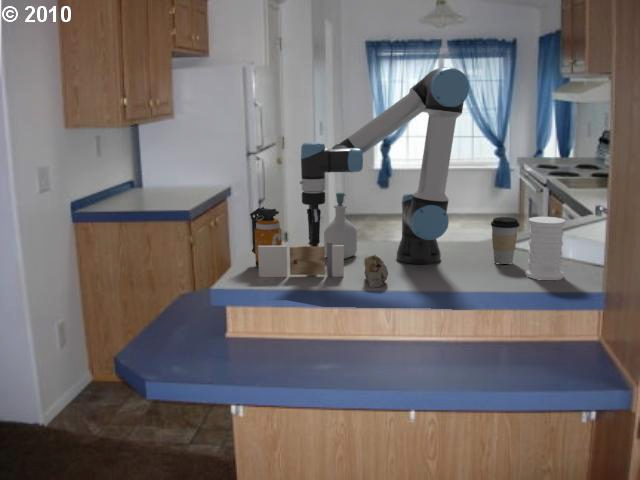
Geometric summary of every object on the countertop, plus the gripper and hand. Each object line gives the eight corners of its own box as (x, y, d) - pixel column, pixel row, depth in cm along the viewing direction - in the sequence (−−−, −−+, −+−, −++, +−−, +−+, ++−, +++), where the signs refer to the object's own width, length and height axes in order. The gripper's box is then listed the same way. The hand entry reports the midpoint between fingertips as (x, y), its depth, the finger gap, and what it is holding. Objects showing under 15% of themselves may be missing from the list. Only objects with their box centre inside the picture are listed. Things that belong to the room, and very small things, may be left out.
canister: (272, 270, 242) (270, 211, 238) (245, 266, 248) (243, 208, 244) (287, 265, 249) (286, 206, 245) (261, 261, 255) (259, 204, 251)
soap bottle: (359, 255, 262) (358, 191, 257) (345, 260, 254) (345, 195, 249) (336, 252, 267) (335, 190, 262) (321, 257, 259) (321, 193, 254)
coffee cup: (487, 265, 246) (488, 221, 242) (491, 258, 254) (493, 216, 251) (515, 267, 242) (518, 222, 239) (519, 260, 251) (521, 217, 248)
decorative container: (545, 283, 224) (548, 224, 220) (517, 274, 233) (519, 219, 229) (571, 277, 230) (574, 220, 226) (542, 269, 239) (545, 215, 235)
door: (324, 273, 235) (324, 246, 233) (324, 275, 233) (324, 247, 231) (290, 274, 235) (289, 246, 233) (290, 275, 233) (289, 248, 231)
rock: (391, 284, 220) (385, 251, 221) (370, 288, 219) (364, 255, 220) (387, 286, 232) (382, 255, 233) (367, 289, 232) (361, 258, 233)
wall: (343, 275, 235) (343, 241, 233) (343, 276, 233) (343, 243, 231) (259, 275, 236) (258, 242, 234) (258, 277, 234) (257, 243, 232)
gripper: (299, 188, 240) (300, 258, 245) (304, 194, 228) (305, 268, 233) (322, 188, 241) (323, 257, 246) (328, 194, 229) (328, 267, 234)
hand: (314, 263), depth 239 cm, fingers closed
